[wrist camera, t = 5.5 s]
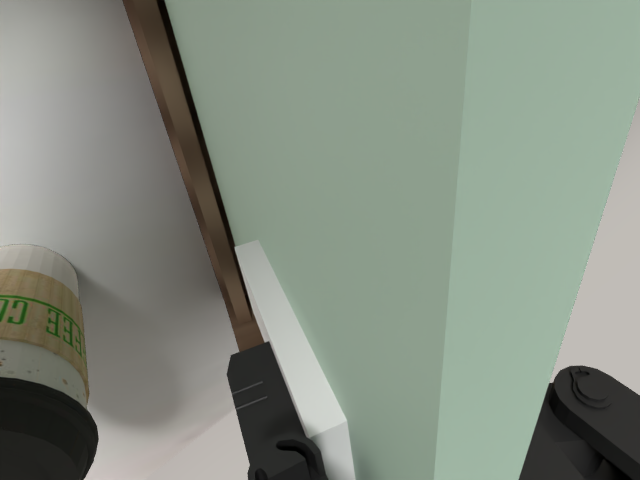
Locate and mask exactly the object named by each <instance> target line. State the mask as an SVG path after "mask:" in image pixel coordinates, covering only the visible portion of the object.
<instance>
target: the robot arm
mask: <svg viewBox="0 0 640 480" xmlns="http://www.w3.org/2000/svg"><path fill="white" fill-rule="evenodd" d="M234 248H235V251H236V255H237V258H238V262H239V265H240V268H241V272H242V275H243V279H244V282H245V286H246V289H247V293H248V296H249V299H250V303H251V306H252V310H253V313H254V315H255V318H256V321H257V323H258V326H259V329H260V331H261V334H262V337H263V339H264V342H265V343H262V344H260V345H257V346H254V347H252V348H249V349H246V350H244V351H241V352H238V353H236V354H233V355H231V357H230V362H229V366H228V371H227V377H228V381H229V385H230V389H231V393H232V397H233V400H234V404H235V408H236V411H237V416H238V420H239V424H240V428H241V432H242V436H243V439H244V444H245V447H246V451H247V455H248V459H249V463H250V467H249V470H248V480H355V473H354V466H353V459H352V452H351V444H350V437H349V430H348V423H347V420H346V418H345V416H344V413H343V411H342V409H341V407H340V405H339V403H338V401H337V399H336V397H335V395H334V393H333V391H332V389H331V387H330V385H329V383H328V381H327V379H326V377H325V375H324V373H323V371H322V369H321V367H320V365H319V363H318V360H317V358H316V356H315V354H314V352H313V350H312V348H311V346H310V344H309V342H308V340H307V338H306V336H305V334H304V332H303V330H302V328H301V326H300V324H299V322H298V320H297V318H296V316H295V314H294V312H293V309H292V307H291V305H290V303H289V301H288V299H287V297H286V295H285V293H284V291H283V289H282V287H281V285H280V283H279V281H278V279H277V277H276V275H275V273H274V271H273V269H272V267H271V265H270V263H269V261H268V258H267V256H266V254H265V252H264V250H263V248H262V246H261V244H260V242H259V240H255V241H252V242H249V243H246V244H242V245H239V246H236V247H234ZM519 480H640V395H638V394H636V393H635V392H634V391H632V390H631V389H629V388H628V387H626V386H624V385H623V384H622V383H620V382H618V381H617V380H616V379H614V378H613V377H611V376H609V375H608V374H606V373H604V372H602V371H600V370H598V369H594V368H591V367H586V366H569V367H567V368H565V369H562V370H560V372H559V373H558V374H557V376H556V377H555V379H554V382H553V383H549V385H548V388H547V391H546V394H545V398H544V401H543V404H542V407H541V410H540V413H539V416H538V420H537V423H536V426H535V429H534V432H533V435H532V439H531V442H530V445H529V448H528V451H527V454H526V458H525V461H524V464H523V467H522V470H521V473H520V476H519Z"/></svg>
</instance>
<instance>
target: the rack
mask: <svg viewBox="0 0 640 480" xmlns="http://www.w3.org/2000/svg"><path fill="white" fill-rule="evenodd" d="M123 3H124V6H125V9H126V12H127V15H128V18H129V21H130V24H131V27H132V30H133V33H134V36H135V39H136V42H137V45H138V47H139V50H140V53H141V56H142V59H143V62H144V65H145V68H146V71H147V74H148V77H149V80H150V83H151V86H152V89H153V92H154V95H155V98H156V101H157V104H158V106H159V109H160V112H161V115H162V118H163V121H164V124H165V127H166V130H167V133H168V136H169V139H170V142H171V145H172V148H173V151H174V154H175V157H176V160H177V163H178V165H179V168H180V171H181V174H182V177H183V180H184V183H185V186H186V189H187V192H188V195H189V198H190V201H191V204H192V207H193V210H194V213H195V216H196V219H197V222H198V225H199V227H200V230H201V233H202V236H203V239H204V242H205V245H206V248H207V251H208V254H209V257H210V260H211V263H212V266H213V269H214V272H215V275H216V278H217V281H218V284H219V286H220V289H221V292H222V295H223V298H224V301H225V304H226V308H227V311H228V314H229V318H230V321H231V324H232V328H233V331H234V334H235V338H236V341H237V344H238V348H239V351H240V352H241V351H244V350H246V349H249V348H252V347H254V346H257V345H260V344H262V343H265V342H264V339H263V337H262V334H261V331H260V329H259V326H258V323H257V321H256V318H255V315H254V313H253V310H252V306H251V303H250V299H249V296H248V293H247V289H246V286H245V282H244V279H243V275H242V272H241V268H240V265H239V262H238V258H237V255H236V251H235V248H234V247H236V246H235V243H234V239H233V236H232V233H231V229H230V226H229V222H228V219H227V215H226V212H225V208H224V205H223V201H222V198H221V194H220V191H219V188H218V184H217V181H216V177H215V174H214V170H213V167H212V163H211V160H210V156H209V153H208V149H207V146H206V143H205V139H204V136H203V132H202V129H201V125H200V122H199V118H198V115H197V111H196V108H195V104H194V101H193V98H192V94H191V91H190V87H189V84H188V80H187V77H186V73H185V70H184V66H183V63H182V59H181V56H180V52H179V49H178V46H177V42H176V39H175V35H174V32H173V28H172V25H171V21H170V18H169V14H168V11H167V7H166V4H165V1H164V0H123Z"/></svg>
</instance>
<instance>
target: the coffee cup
mask: <svg viewBox="0 0 640 480" xmlns="http://www.w3.org/2000/svg"><path fill="white" fill-rule="evenodd" d="M88 397H89V386H88V374H87V362H86V350H85V338H84V326H83V315H82V308H81V305H80V303H79V289H78V279H77V275H76V272H75V270H74V268H73V267H72V265H71V264H70V263H69V262H68V261H67V260H66V259H65V258H64V257H62V256H61V255H59V254H57V253H56V252H54V251H52V250H49V249H47V248H44V247H39V246H35V245H26V244H17V245H8V246H3V247H0V480H83V479H84V478H85V477H86V475H87V473H88V471H89V469H90V467H91V465H92V463H93V461H94V457H95V454H96V450H97V445H98V440H99V438H98V431H97V425H96V424H95V422H94V420H93V418H92V416H91V414H90V413H89V412H88V411H87V403H88Z"/></svg>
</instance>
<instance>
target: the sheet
mask: <svg viewBox="0 0 640 480" xmlns="http://www.w3.org/2000/svg"><path fill="white" fill-rule="evenodd" d="M164 1H165V4H166V7H167V11H168V14H169V18H170V21H171V25H172V28H173V32H174V35H175V39H176V42H177V46H178V49H179V52H180V56H181V59H182V63H183V66H184V70H185V73H186V77H187V80H188V84H189V87H190V91H191V94H192V98H193V101H194V104H195V108H196V111H197V115H198V118H199V122H200V125H201V129H202V132H203V136H204V139H205V143H206V146H207V149H208V153H209V156H210V160H211V163H212V167H213V170H214V174H215V177H216V181H217V184H218V188H219V191H220V194H221V198H222V201H223V205H224V208H225V212H226V215H227V219H228V222H229V226H230V229H231V233H232V236H233V239H234V243H235V246H239V245H242V244H246V243H249V242H252V241H255V240H259V242H260V244H261V246H262V248H263V250H264V252H265V254H266V256H267V258H268V261H269V263H270V265H271V267H272V269H273V271H274V273H275V275H276V277H277V279H278V281H279V283H280V285H281V287H282V289H283V291H284V293H285V295H286V297H287V299H288V301H289V303H290V305H291V307H292V309H293V312H294V314H295V316H296V318H297V320H298V322H299V324H300V326H301V328H302V330H303V332H304V334H305V336H306V338H307V340H308V342H309V344H310V346H311V348H312V350H313V352H314V354H315V356H316V358H317V360H318V363H319V365H320V367H321V369H322V371H323V373H324V375H325V377H326V379H327V381H328V383H329V385H330V387H331V389H332V391H333V393H334V395H335V397H336V399H337V401H338V403H339V405H340V407H341V409H342V411H343V413H344V416H345V418H346V420H347V423H348V430H349V437H350V444H351V452H352V459H353V466H354V473H355V480H519V476H520V473H521V470H522V467H523V464H524V461H525V458H526V454H527V451H528V448H529V445H530V442H531V439H532V435H533V432H534V429H535V426H536V423H537V420H538V416H539V413H540V410H541V407H542V404H543V401H544V398H545V394H546V391H547V388H548V385H549V382H550V378H551V375H552V372H553V369H554V366H555V362H556V360H557V356H558V353H559V350H560V346H561V344H562V341H563V337H564V334H565V331H566V328H567V325H568V322H569V319H570V315H571V312H572V309H573V306H574V303H575V300H576V296H577V293H578V290H579V287H580V284H581V281H582V277H583V274H584V271H585V268H586V265H587V262H588V259H589V255H590V252H591V249H592V246H593V243H594V240H595V236H596V233H597V230H598V227H599V223H600V221H601V217H602V214H603V211H604V208H605V205H606V202H607V198H608V195H609V192H610V189H611V186H612V182H613V179H614V176H615V173H616V170H617V167H618V164H619V161H620V157H621V154H622V151H623V148H624V145H625V142H626V139H627V135H628V132H629V129H630V126H631V123H632V119H633V116H634V113H635V110H636V106H637V103H638V100H639V97H640V0H164Z"/></svg>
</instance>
